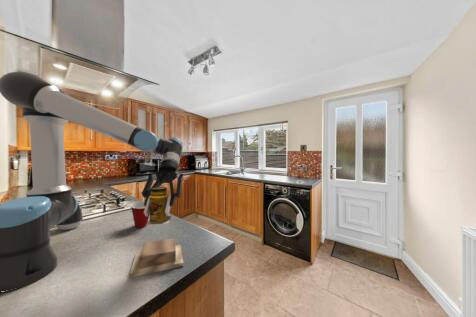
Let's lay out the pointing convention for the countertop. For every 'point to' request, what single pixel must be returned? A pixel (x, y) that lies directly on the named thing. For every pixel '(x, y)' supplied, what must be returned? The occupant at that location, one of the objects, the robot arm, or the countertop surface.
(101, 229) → the countertop surface
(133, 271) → the base board
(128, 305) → the countertop surface
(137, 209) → the plastic cup
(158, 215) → the condiment
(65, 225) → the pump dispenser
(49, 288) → the countertop surface
